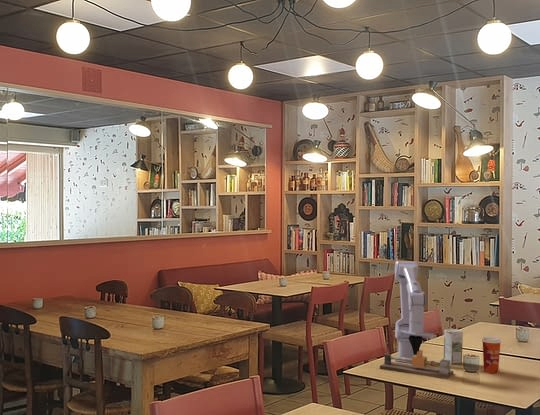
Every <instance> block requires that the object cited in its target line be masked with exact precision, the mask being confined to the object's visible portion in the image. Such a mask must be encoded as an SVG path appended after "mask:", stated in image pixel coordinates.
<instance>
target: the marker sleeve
mask: <svg viewBox="0 0 540 415" xmlns="http://www.w3.org/2000/svg"><path fill="white" fill-rule="evenodd" d="M423 352H424V351H423V349H419V351H417V355H415V356H413V357H412V363H411V365H412V366H415V367H422V368H424V367H428V364H424V360H425V361H428V357H427V356H425V355H424V356H423Z"/></svg>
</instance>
